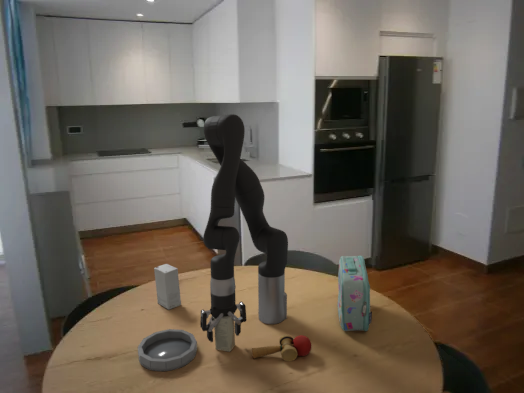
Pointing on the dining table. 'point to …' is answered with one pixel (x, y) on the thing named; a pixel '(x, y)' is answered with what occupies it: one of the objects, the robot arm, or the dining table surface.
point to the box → (225, 334)
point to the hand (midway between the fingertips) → (224, 337)
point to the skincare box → (167, 286)
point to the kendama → (286, 348)
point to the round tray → (167, 350)
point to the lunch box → (353, 294)
